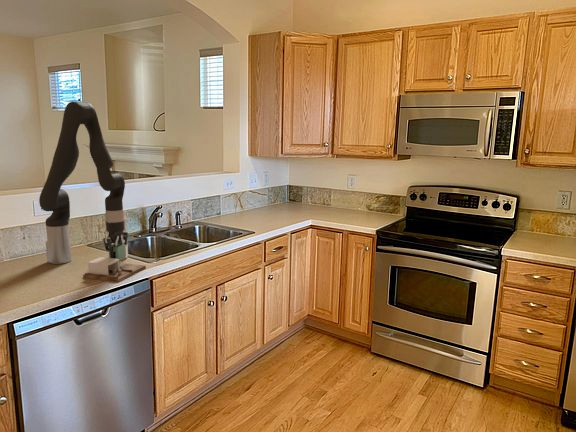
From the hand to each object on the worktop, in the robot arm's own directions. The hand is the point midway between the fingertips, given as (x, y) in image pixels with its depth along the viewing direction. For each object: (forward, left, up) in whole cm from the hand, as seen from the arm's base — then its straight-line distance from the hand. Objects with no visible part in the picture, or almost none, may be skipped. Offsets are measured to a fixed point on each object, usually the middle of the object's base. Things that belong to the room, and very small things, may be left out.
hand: (117, 257), depth 193 cm
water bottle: (-9, +15, -5) cm, 18 cm away
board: (+3, -5, -5) cm, 8 cm away
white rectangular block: (+1, -10, -3) cm, 11 cm away
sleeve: (0, 0, 0) cm, 0 cm away
